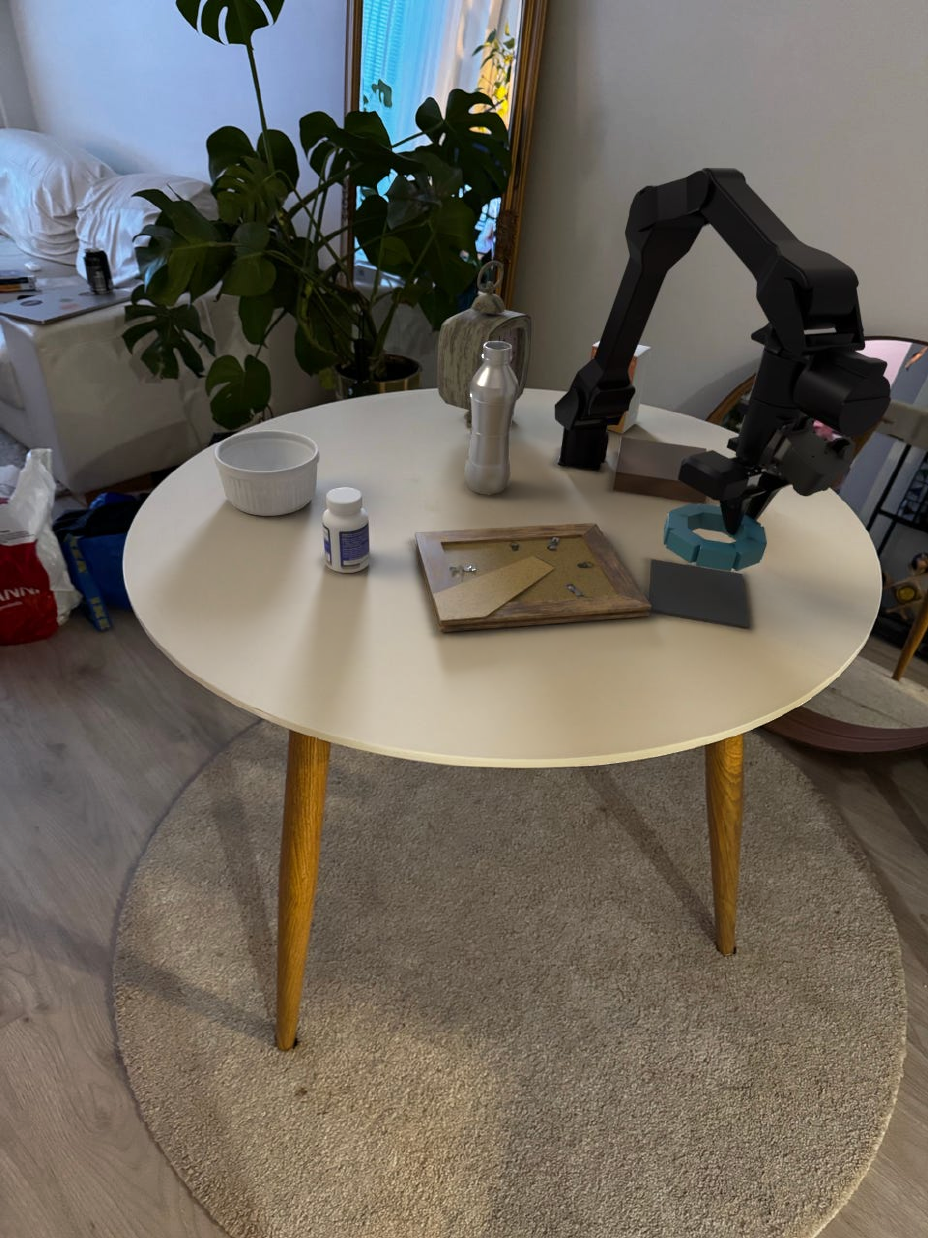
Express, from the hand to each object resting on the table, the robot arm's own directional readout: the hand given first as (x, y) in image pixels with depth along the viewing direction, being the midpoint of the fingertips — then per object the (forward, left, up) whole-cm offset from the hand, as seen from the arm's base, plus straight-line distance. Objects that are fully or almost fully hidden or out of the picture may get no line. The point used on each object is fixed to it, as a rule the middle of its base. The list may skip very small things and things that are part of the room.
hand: (737, 530), depth 86 cm
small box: (-17, +46, -8) cm, 50 cm away
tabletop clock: (-38, +38, -8) cm, 54 cm away
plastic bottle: (-32, +15, -8) cm, 36 cm away
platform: (-8, +27, -7) cm, 29 cm away
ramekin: (-59, +3, -8) cm, 59 cm away
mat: (-3, -3, -7) cm, 8 cm away
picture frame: (-23, -6, -8) cm, 25 cm away
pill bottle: (-44, -9, -8) cm, 45 cm away
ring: (-3, -3, -1) cm, 4 cm away
